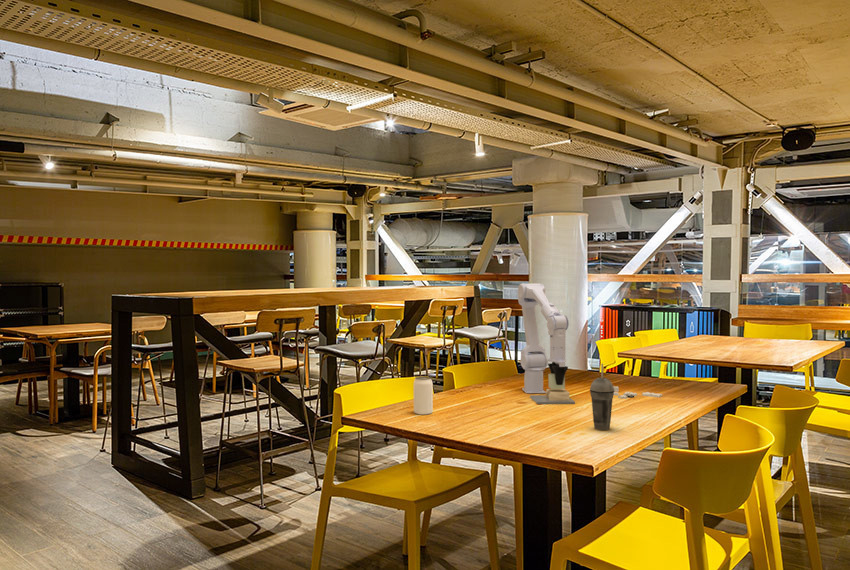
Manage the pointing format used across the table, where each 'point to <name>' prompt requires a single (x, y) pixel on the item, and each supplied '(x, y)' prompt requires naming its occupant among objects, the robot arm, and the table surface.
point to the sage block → (553, 382)
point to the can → (423, 395)
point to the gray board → (544, 400)
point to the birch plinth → (557, 394)
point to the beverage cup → (602, 402)
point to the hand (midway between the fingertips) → (557, 383)
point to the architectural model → (633, 394)
